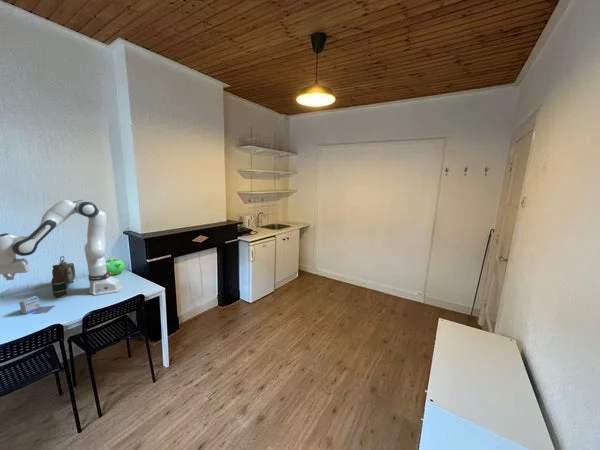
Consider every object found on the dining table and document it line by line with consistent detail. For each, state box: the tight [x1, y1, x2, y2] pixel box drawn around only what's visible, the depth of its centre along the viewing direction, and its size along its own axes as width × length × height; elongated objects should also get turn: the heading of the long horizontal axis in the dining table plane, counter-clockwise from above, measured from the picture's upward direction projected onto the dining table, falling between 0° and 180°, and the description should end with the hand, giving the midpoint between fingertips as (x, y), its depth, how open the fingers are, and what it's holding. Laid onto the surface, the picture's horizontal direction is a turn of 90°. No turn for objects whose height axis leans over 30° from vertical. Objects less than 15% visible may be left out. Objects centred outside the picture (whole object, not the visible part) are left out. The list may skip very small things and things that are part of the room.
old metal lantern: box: [51, 255, 76, 289], centre depth 203 cm, size 14×9×25 cm, turn 23°
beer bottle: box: [50, 264, 68, 299], centre depth 188 cm, size 8×8×24 cm
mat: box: [31, 305, 56, 315], centre depth 171 cm, size 8×9×1 cm
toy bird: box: [105, 257, 126, 276], centre depth 230 cm, size 18×17×15 cm
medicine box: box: [18, 295, 42, 315], centre depth 169 cm, size 8×4×9 cm, turn 168°
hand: (10, 279), depth 162 cm, fingers closed
